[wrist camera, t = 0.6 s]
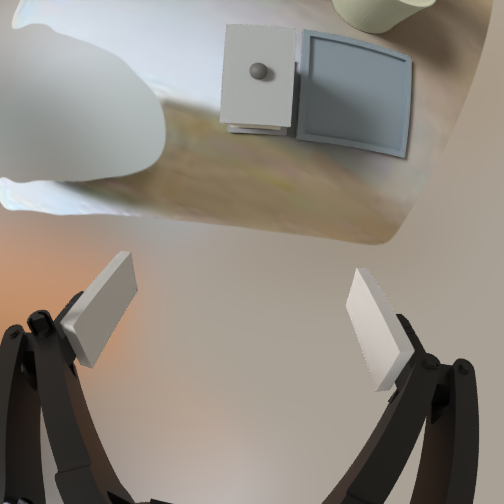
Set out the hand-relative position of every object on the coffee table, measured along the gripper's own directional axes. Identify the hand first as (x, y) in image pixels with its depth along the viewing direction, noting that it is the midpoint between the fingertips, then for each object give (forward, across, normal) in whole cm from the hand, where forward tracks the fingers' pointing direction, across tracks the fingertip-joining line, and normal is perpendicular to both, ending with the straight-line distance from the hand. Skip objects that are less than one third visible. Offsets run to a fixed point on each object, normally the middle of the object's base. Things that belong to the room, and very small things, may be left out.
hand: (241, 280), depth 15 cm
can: (+21, +13, +28) cm, 38 cm away
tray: (+21, +12, +14) cm, 28 cm away
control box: (+21, 0, +12) cm, 24 cm away
